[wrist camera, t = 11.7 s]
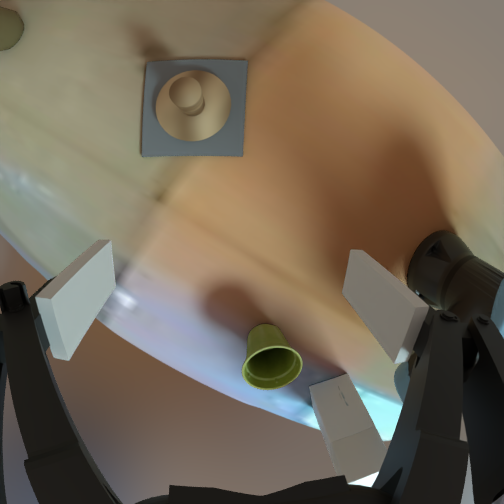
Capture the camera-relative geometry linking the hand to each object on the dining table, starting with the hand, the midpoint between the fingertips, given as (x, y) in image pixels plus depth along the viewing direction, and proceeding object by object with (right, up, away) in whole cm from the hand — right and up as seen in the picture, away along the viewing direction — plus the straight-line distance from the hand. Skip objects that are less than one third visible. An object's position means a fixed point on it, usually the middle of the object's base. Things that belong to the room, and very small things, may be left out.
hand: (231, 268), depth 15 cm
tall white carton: (+18, -30, +43) cm, 56 cm away
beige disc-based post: (-7, +20, +20) cm, 29 cm away
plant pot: (+3, -14, +35) cm, 38 cm away
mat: (-7, +21, +21) cm, 30 cm away
